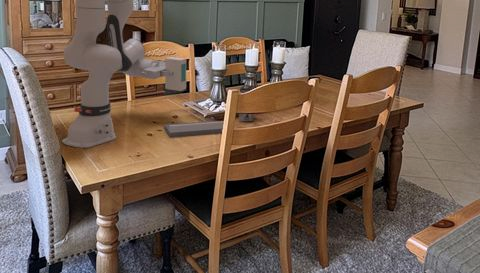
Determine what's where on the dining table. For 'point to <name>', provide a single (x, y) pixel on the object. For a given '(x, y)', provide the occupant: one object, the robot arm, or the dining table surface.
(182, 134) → the shelf
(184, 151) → the dining table surface
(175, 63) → the carton
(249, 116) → the coffee box
